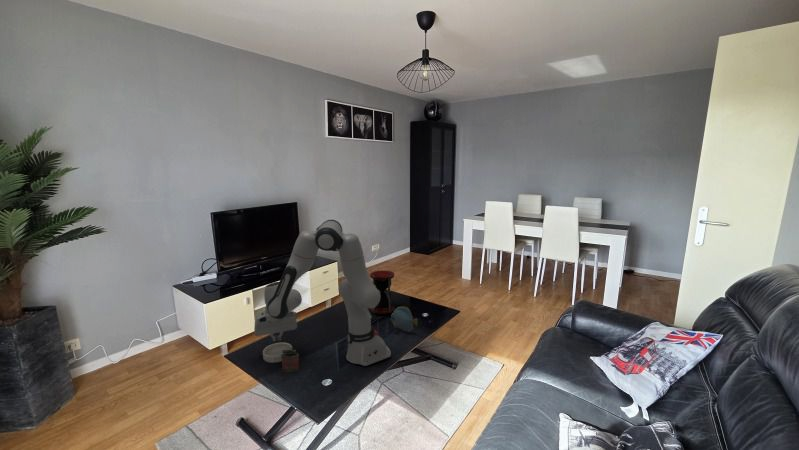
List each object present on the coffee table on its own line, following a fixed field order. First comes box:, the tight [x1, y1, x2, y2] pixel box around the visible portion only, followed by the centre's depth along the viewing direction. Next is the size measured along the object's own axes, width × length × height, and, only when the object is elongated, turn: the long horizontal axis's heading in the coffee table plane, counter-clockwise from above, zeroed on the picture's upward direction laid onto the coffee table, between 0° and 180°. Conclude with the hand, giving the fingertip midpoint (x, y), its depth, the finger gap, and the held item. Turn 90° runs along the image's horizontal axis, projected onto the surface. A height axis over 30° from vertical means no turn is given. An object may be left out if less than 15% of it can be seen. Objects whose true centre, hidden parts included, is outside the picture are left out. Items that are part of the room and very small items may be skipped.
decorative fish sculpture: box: [389, 306, 418, 333], centre depth 195 cm, size 12×20×15 cm, turn 56°
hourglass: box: [369, 270, 396, 315], centre depth 224 cm, size 16×16×25 cm
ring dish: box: [262, 342, 293, 364], centre depth 170 cm, size 14×14×3 cm
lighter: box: [281, 348, 301, 373], centre depth 157 cm, size 8×3×10 cm, turn 94°
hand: (276, 340), depth 169 cm, fingers closed
